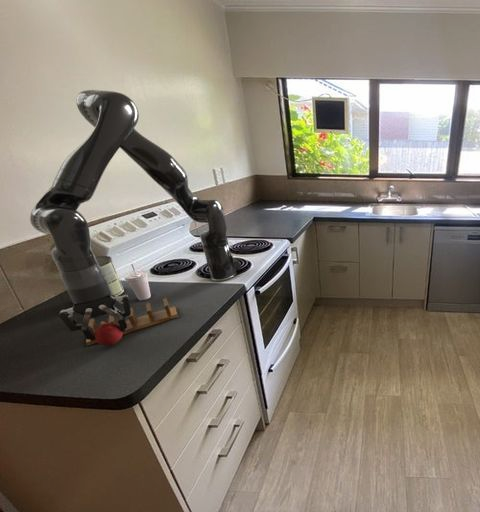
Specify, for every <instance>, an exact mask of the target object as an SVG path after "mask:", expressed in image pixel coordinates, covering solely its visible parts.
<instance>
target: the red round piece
mask: <svg viewBox="0 0 480 512" xmlns="http://www.w3.org/2000/svg"><path fill="white" fill-rule="evenodd" d="M99 324H100V325H99V326H98V328H97V330H96V331H95V334H94V338H95V341H96V342H97V343H96V344H99V345H102V346H109V347H113V346H115V345H116V344H117V343H119V341H120V340H121V339H122V338H123V335H124V334H123V332H122V331H121V328H120V326H119V325H116V324H113V323H109V322H105V321H101V322H100V323H99Z"/></svg>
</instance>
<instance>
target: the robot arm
mask: <svg viewBox="0 0 480 512" xmlns="http://www.w3.org/2000/svg"><path fill="white" fill-rule="evenodd" d="M75 102H76V107H77V110H78V111H79V112H80V114H81V116H82V117H83V118H84V119H85V120H86V122H88V123H89V124H90V125H91V126H92V127H94V128H93V130H92V131H91V133H90V134H89V136H88V137H87V138H86V139H85V140H84V141H83V142H82V143H81V144H79V146H77V147H76V148H75V149H74V150H73V151H72V152H71V153H70V154H69V155H68V156H67V157H66V158H65V159H64V161H63V162H62V163H61V165H60V168H59V170H58V171H57V172H56V175H55V177H54V179H53V182H52V184H51V187H49V188H48V189H47V191H46V192H44V194H43V195H42V196H41V197H40V199H39V200H38V201H37V202H36V203H35V205H34V206H33V208H32V210H31V212H30V217H29V221H30V224H31V226H32V227H33V229H34V230H35V231H37V232H40V233H42V234H45V235H50V236H51V237H52V240H53V243H54V246H55V247H53V248H52V249H51V257H52V259H53V261H54V263H55V265H56V268H57V269H58V272H59V275H60V279H61V281H62V283H63V286H64V287H65V289H66V292H67V294H68V296H69V298H70V300H71V303H72V307H69V308H67V309H66V308H62V309H60V311H59V313H58V314H59V315H58V317H59V318H60V319H61V320H62V322H63V323H64V324H65V326H67V328H68V329H69V330H70V331H71V332H76V331H81V332H82V333H83V335H84V337H85V339H87V340H89V339H90V340H91V341H92V340H95V338H94V333H93V331H92V329H91V327H90V326H88V324H89V321H90V319H93V318H94V319H95V318H97V317H99V316H105V315H108V316H109V315H111V316H113V317H115V318H116V320H117V322H118V324H119V326H120V328H121V331H125V329H126V328H127V323H126V321H127V320H126V318H127V317H128V316H130V315H131V309H130V308H131V303H130V298H129V294H127V293H124V294H123V295H119V296H117V297H115V296H114V295H112V293H111V291H110V289H109V286H108V284H107V281H106V279H105V275H104V273H103V272H102V269H101V268H100V266H99V265H98V263H97V261H96V258H95V257H96V256H95V253H94V251H93V249H92V246H91V245H92V244H91V243H92V242H91V241H92V240H91V233H90V228H89V227H90V226H89V224H88V221H87V219H86V218H85V216H84V215H83V214H82V213H81V212H80V211H79V210H78V209H79V208H80V206H81V205H82V204H84V203H88V202H89V201H90V200H92V198H93V196H94V194H95V192H96V189H97V188H98V186H99V184H100V181H101V179H102V176H103V175H104V173H105V170H106V169H107V167H108V165H109V163H110V162H111V160H112V159H113V157H114V156H115V155H116V153H117V152H118V151H119V149H121V150H122V151H123V152H124V153H125V154H126V155H127V156H128V157H129V158H130V159H132V161H133V162H135V164H137V165H138V166H139V167H140V168H141V169H142V170H143V171H144V172H145V173H146V174H147V175H148V176H149V177H150V178H151V179H152V180H153V181H154V182H155V183H156V184H157V185H158V186H159V187H161V188H162V189H164V191H165V192H166V193H167V194H168V195H169V196H170V197H171V198H172V199H173V200H174V201H175V202H176V203H177V204H178V205H179V207H180V208H181V209H182V210H183V211H184V212H185V214H186V215H187V216H188V217H189V218H190V219H191V220H192V221H194V222H195V223H199V224H200V223H201V224H207V225H208V229H206V230H204V231H202V232H201V233H200V234H199V238H200V241H201V245H202V249H203V253H204V257H205V260H206V261H205V262H206V264H207V268H208V272H209V275H210V279H211V281H212V282H224V281H227V280H231V279H233V278H234V277H237V276H238V274H237V271H238V270H239V269H240V268H241V266H242V265H241V262H239V260H238V259H237V258H236V257H234V256H233V254H232V253H231V249H230V244H229V239H228V235H227V230H228V228H227V222H226V216H225V211H224V207H223V205H222V203H221V202H220V201H219V200H218V199H212V198H210V199H209V198H199V197H198V196H196V195H195V194H194V193H193V192H192V191H191V189H190V188H189V180H188V174H187V172H186V171H185V169H184V167H183V166H181V164H180V163H179V162H178V161H177V160H176V158H174V157H173V156H172V155H171V154H170V153H169V152H168V151H166V150H165V149H164V148H162V147H161V146H160V145H158V144H156V143H154V142H153V141H151V140H149V139H148V138H147V137H145V136H143V135H142V134H141V133H140V132H138V130H136V129H135V127H136V126H137V124H138V122H139V118H140V114H139V110H138V107H137V105H136V103H135V102H134V101H133V100H132V99H131V97H129V96H127V95H126V94H124V93H122V92H118V91H113V90H100V89H99V90H98V89H86V90H81V91H80V92H79V93H78V94H77V96H76V99H75ZM116 302H118V303H119V304H121V305H123V311H121V310H120V309H118V308H117V307H115V303H116ZM74 313H77V314H79V315H81V316H83V319H82V323H81V322H80V323H78V322H77V320H75V318H74V317H73V315H74Z"/></svg>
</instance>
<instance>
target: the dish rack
mask: <svg viewBox="0 0 480 512" xmlns="http://www.w3.org/2000/svg"><path fill="white" fill-rule="evenodd" d="M162 301H163V302H162V303H163V305H164V306H163V307H164V309H161V310H158V311H155V312H154V311H153V308H152V305H151V303H150V302H146V303H145V307H146V313H147V314H145V315H142V316H139V317H137V316H136V313H135V311H134V309H133V307H130V309H131V315H130V316H127V317H128V320H125V321H126V323H127V328H126V329H125V331H122V332H123V335H126V334H129V333H132V332H135V331H138V330H142V329H145V328H147V327H150V326H154V325H158V324H160V323H163V322H164V323H165V322H167V321H170V320H173V319H176V318H178V317H179V315H178V312H177V308H176V306H172V307H170V305H169V302H168V299H167V297H165V298H162ZM108 323H113V324H116V325H119V324H118V319H116V318H115V317H113V316H111V315H109V314H108ZM88 326H90V327H91V329H92V331H93V333H94V334H95V331H96V330H97V328H98V327H99V326H98V324H97V322H96V320H95V317H94V318H90V321H89V324H88ZM85 339H86V338H85ZM85 344H86V345H87V346H91V345H94V344H98V343H97V342H96V341H95V340H92V341H91V340H90V339H89V340H87V339H86V340H85Z"/></svg>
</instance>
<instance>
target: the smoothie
mask: <svg viewBox="0 0 480 512" xmlns="http://www.w3.org/2000/svg"><path fill="white" fill-rule="evenodd" d="M131 267H132V270H133V272H130V273H128V274H126V275H125V276H124V280H125V281H127V283H128V285H129V287H131V290H132V291H133V293H134V295H135V296H136V299H138V301H145V300H149V299H150V298H151V297H152V294H151V291H150V290H151V289H150V284H149V278H148V271H146V270H139V271H137V269H136V268H135V265H134V263H131Z"/></svg>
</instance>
